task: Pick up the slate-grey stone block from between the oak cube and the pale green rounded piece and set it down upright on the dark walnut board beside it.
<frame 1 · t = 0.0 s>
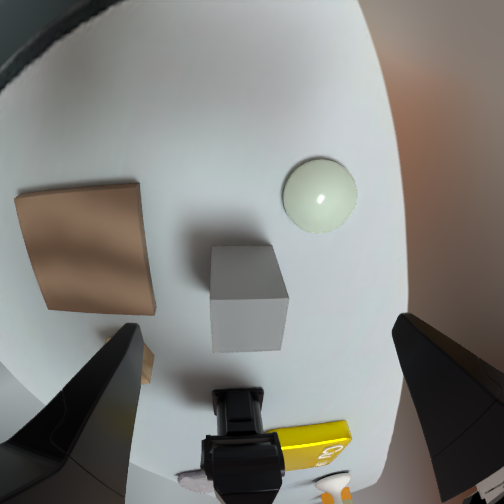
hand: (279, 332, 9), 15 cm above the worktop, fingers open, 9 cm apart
slate block: (241, 271, 25), on the worktop
element tile: (300, 439, 46), on the worktop
pale green rounded piece: (318, 194, 23), on the worktop
orange juice: (334, 490, 82), on the worktop
oak cube: (130, 346, 29), on the worktop
walnut board: (85, 252, 23), on the worktop
stone block: (203, 473, 54), on the worktop
flower in vase: (329, 476, 66), on the worktop
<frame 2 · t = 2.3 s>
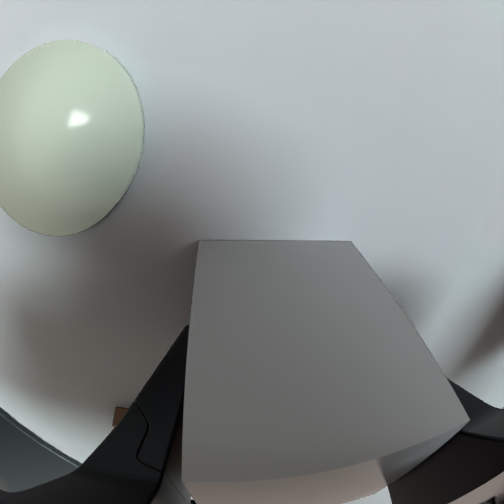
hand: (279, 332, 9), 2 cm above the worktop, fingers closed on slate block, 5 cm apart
slate block: (271, 302, 10), on the worktop, touching gripper
pale green rounded piece: (60, 136, 7), on the worktop
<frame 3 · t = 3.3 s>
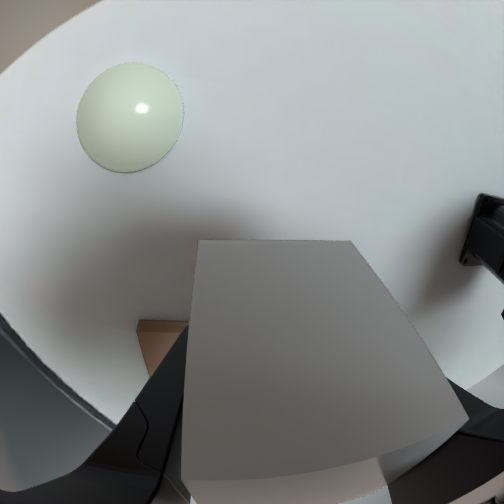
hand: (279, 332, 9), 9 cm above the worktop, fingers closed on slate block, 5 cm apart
slate block: (271, 302, 11), point 8 cm above the worktop, touching gripper
pale green rounded piece: (131, 116, 14), on the worktop
walnut board: (221, 371, 24), on the worktop
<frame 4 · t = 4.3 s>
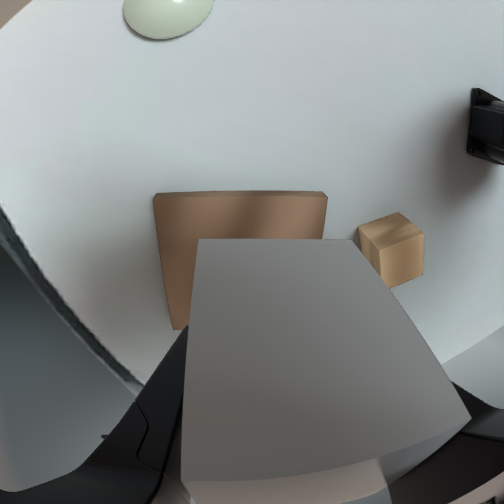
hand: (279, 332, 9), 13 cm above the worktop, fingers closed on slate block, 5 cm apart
slate block: (272, 301, 10), point 12 cm above the worktop, touching gripper
pale green rounded piece: (170, 2, 13), on the worktop
oak cube: (380, 238, 24), on the worktop
walnut board: (240, 263, 23), on the worktop
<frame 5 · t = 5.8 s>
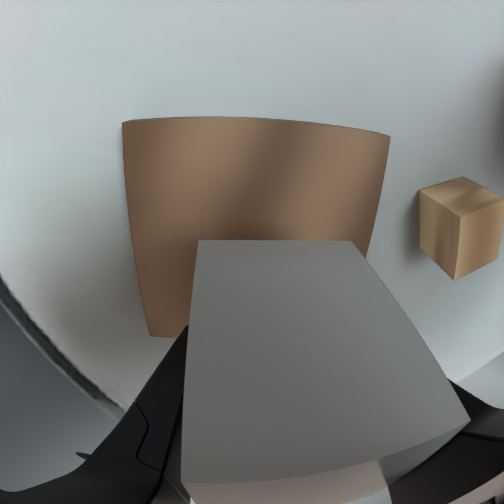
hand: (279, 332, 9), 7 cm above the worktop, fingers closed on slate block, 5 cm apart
slate block: (271, 302, 10), point 5 cm above the worktop, touching gripper
oak cube: (441, 211, 16), on the worktop
walnut board: (253, 236, 15), on the worktop
when the fingers open (4 cm above the worktop, at t = 6.8 s): slate block stays where it is, resting on walnut board.
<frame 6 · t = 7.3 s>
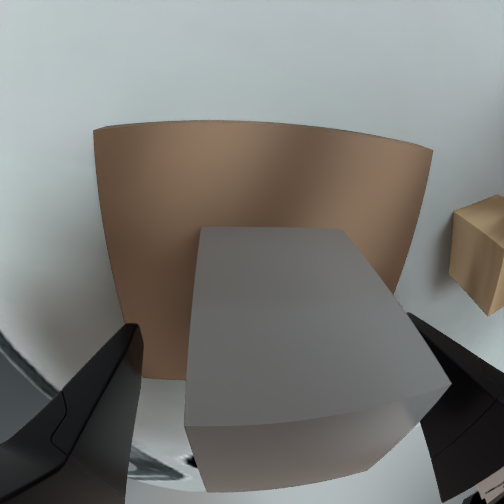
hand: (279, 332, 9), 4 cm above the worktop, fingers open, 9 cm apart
slate block: (268, 286, 11), point 1 cm above the worktop, touching walnut board
oak cube: (474, 233, 13), on the worktop
walnut board: (263, 270, 12), on the worktop
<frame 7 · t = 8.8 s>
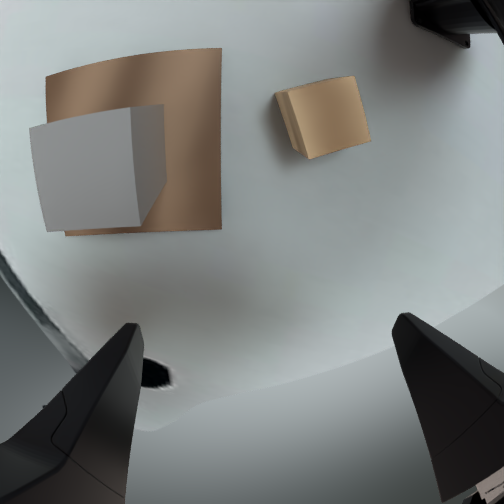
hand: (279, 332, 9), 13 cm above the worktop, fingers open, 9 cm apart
slate block: (127, 146, 16), point 1 cm above the worktop, touching walnut board
oak cube: (311, 112, 18), on the worktop
walnut board: (131, 144, 17), on the worktop
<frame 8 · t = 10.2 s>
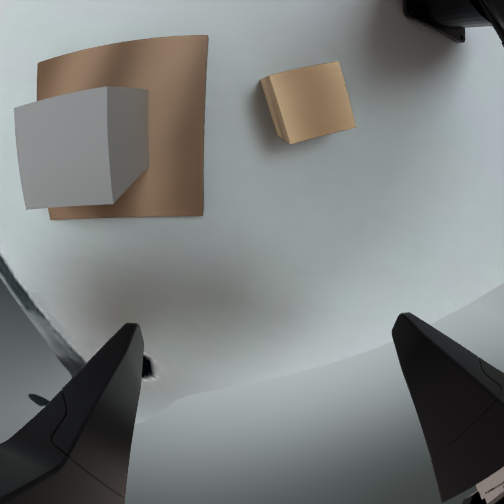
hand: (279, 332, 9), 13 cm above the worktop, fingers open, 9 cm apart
slate block: (111, 130, 16), point 1 cm above the worktop, touching walnut board
oak cube: (297, 100, 17), on the worktop
walnut board: (117, 129, 17), on the worktop
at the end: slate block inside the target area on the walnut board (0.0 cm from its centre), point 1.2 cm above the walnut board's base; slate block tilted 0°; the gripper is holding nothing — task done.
